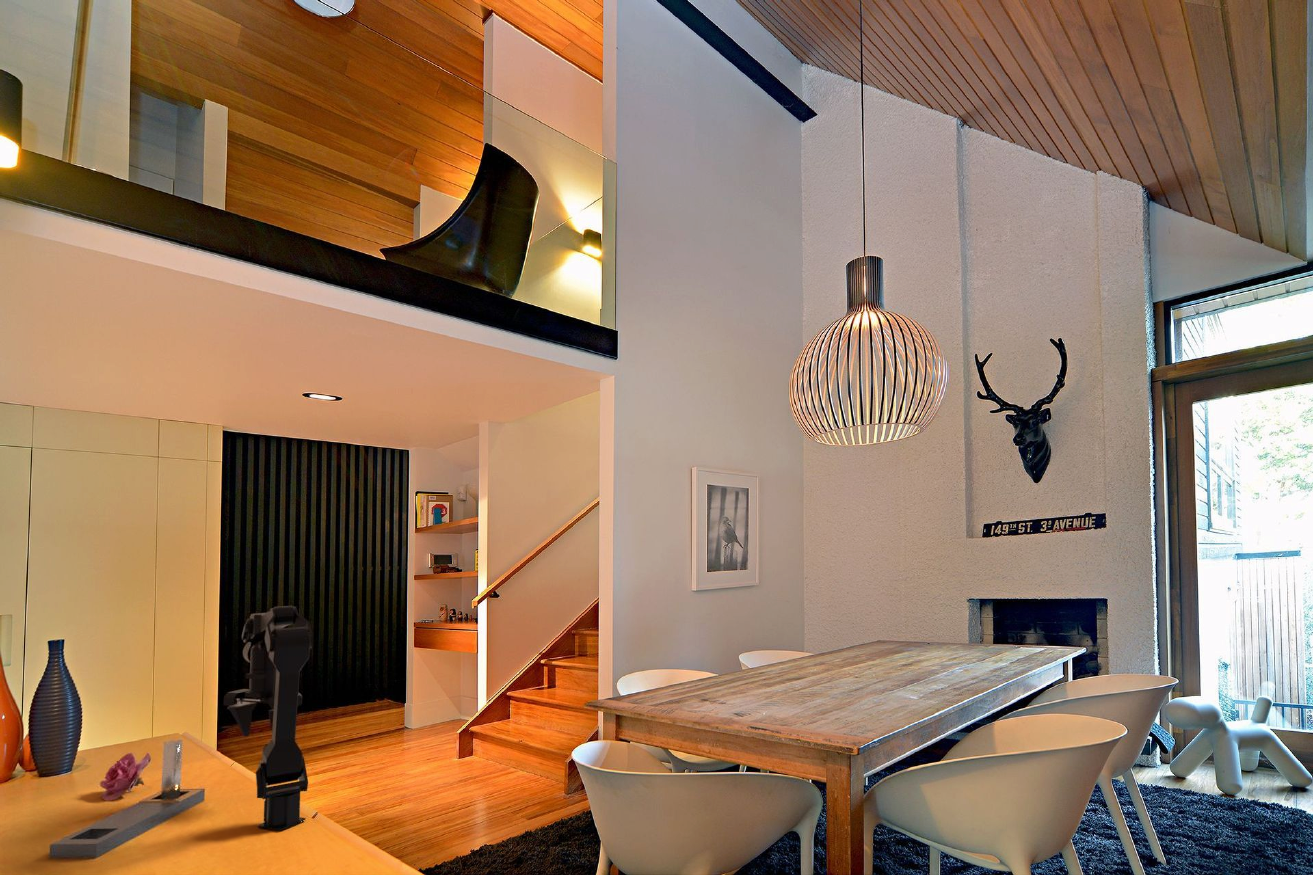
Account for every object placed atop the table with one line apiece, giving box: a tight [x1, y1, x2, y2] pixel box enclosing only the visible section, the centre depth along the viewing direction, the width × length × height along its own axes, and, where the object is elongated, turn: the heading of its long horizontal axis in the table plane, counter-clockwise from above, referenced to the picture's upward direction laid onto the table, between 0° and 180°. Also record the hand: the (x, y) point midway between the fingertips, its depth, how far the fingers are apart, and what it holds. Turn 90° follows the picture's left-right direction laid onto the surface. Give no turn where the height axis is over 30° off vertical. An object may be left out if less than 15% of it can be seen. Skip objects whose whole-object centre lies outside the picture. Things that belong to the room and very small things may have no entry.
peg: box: [160, 739, 184, 799], centre depth 176 cm, size 4×4×14 cm
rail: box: [48, 788, 206, 859], centre depth 164 cm, size 33×9×3 cm, turn 178°
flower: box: [99, 752, 152, 801], centre depth 187 cm, size 11×10×10 cm
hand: (261, 737), depth 183 cm, fingers open, 9 cm apart
